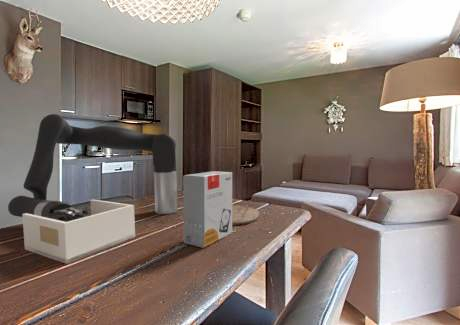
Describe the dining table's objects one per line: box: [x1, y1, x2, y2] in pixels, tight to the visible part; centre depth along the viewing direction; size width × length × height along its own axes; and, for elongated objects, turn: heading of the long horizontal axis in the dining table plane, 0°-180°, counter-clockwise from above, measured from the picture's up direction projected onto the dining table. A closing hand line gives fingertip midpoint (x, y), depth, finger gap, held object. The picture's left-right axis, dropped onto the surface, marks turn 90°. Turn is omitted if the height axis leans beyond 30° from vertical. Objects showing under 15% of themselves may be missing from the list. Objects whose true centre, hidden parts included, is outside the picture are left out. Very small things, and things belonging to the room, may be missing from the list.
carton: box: [22, 199, 136, 265], centre depth 77 cm, size 20×21×10 cm
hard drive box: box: [182, 170, 233, 249], centre depth 79 cm, size 16×8×20 cm, turn 148°
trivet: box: [232, 204, 260, 227], centre depth 104 cm, size 25×25×2 cm
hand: (86, 218), depth 76 cm, fingers closed
